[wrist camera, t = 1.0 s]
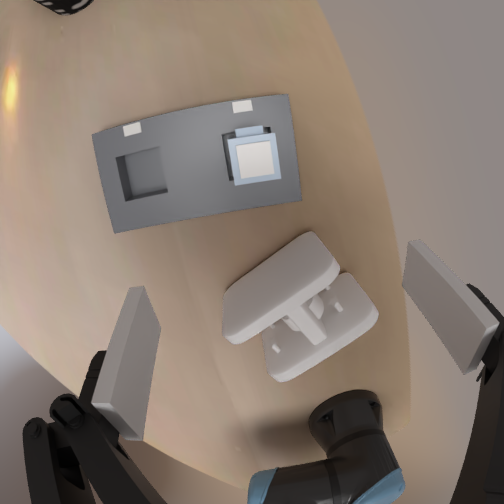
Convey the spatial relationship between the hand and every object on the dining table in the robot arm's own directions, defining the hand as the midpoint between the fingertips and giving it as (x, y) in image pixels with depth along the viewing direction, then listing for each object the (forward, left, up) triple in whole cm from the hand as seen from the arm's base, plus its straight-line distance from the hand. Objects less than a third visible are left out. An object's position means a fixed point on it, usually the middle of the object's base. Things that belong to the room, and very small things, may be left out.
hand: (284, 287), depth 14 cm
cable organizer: (-13, -3, -24) cm, 28 cm away
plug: (+5, 0, -23) cm, 24 cm away
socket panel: (+5, +6, -24) cm, 25 cm away
